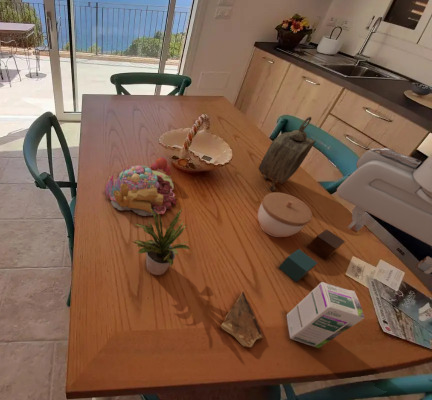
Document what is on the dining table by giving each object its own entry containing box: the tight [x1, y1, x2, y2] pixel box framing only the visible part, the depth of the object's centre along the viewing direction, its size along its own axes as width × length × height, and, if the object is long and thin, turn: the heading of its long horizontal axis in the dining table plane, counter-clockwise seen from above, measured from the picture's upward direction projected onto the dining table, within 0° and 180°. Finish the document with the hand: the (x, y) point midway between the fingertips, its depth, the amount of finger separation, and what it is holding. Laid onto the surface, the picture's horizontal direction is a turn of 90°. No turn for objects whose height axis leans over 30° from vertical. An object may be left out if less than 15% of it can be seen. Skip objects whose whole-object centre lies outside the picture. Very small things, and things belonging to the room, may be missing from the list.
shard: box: [220, 291, 264, 348], centre depth 59 cm, size 11×8×2 cm
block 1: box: [278, 248, 318, 283], centre depth 69 cm, size 5×5×5 cm
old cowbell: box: [258, 116, 316, 192], centre depth 91 cm, size 14×9×25 cm, turn 131°
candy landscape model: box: [105, 157, 178, 217], centre depth 87 cm, size 25×24×9 cm
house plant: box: [131, 207, 191, 276], centre depth 64 cm, size 14×14×16 cm
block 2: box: [307, 228, 346, 260], centre depth 74 cm, size 5×5×5 cm
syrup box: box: [286, 281, 365, 349], centre depth 54 cm, size 6×6×14 cm
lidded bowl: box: [257, 191, 313, 238], centre depth 78 cm, size 13×13×11 cm
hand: (385, 247), depth 43 cm, fingers open, 8 cm apart
